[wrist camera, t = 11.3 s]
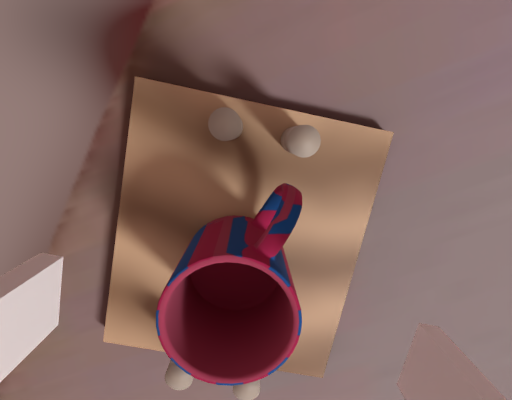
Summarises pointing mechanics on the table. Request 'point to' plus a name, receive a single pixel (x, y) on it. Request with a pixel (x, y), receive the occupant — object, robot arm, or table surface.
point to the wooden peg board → (238, 206)
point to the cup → (234, 296)
